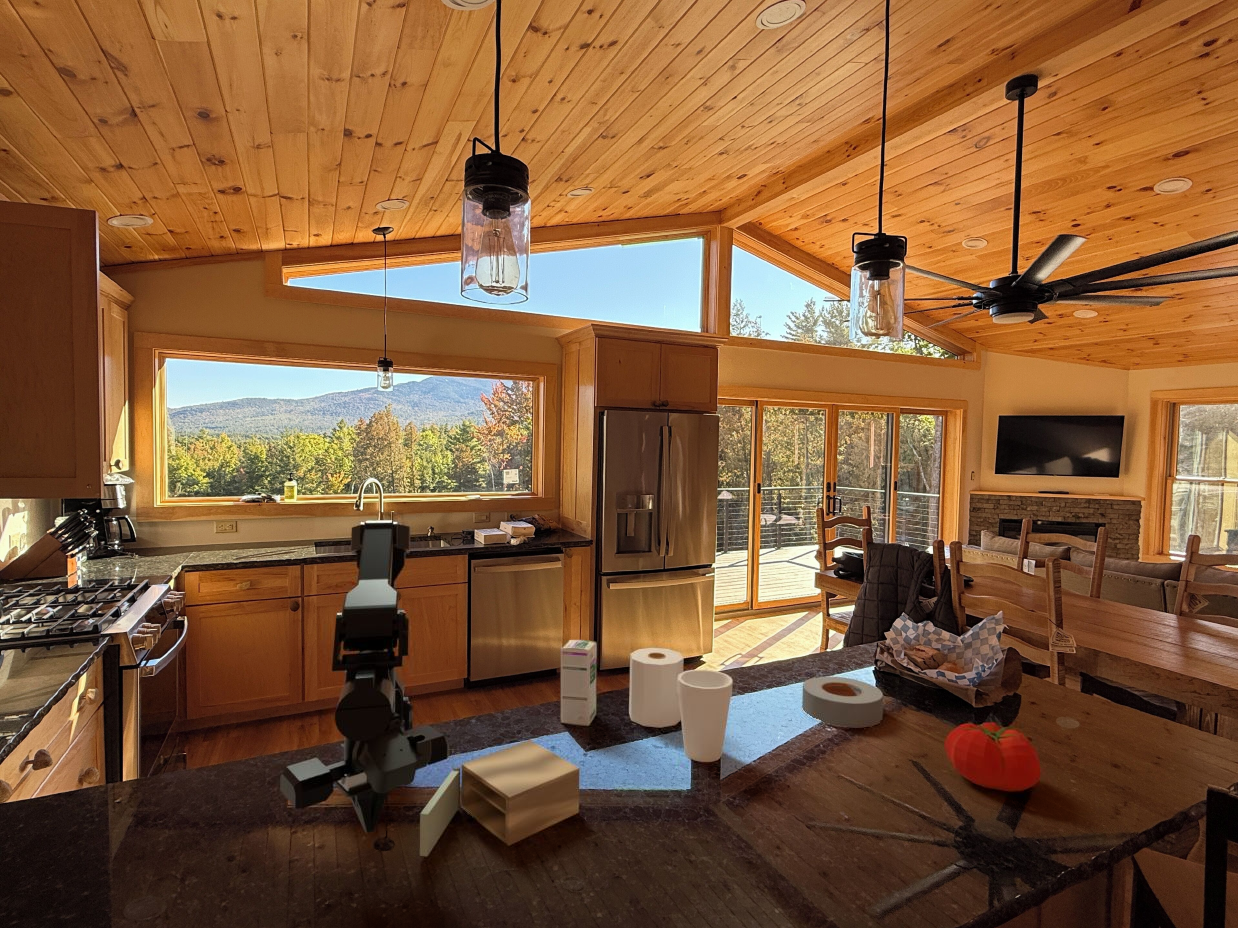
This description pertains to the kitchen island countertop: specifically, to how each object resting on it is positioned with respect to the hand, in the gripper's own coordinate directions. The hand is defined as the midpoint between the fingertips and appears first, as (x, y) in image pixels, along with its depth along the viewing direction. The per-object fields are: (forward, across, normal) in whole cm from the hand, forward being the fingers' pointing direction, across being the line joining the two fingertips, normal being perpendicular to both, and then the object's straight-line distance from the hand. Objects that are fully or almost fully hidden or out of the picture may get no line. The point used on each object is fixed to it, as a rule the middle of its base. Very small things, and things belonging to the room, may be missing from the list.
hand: (368, 831), depth 82 cm
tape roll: (+6, +91, -14) cm, 92 cm away
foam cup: (+6, +56, -7) cm, 57 cm away
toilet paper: (+6, +61, +9) cm, 62 cm away
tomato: (+6, +84, -44) cm, 95 cm away
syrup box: (+6, +49, +18) cm, 53 cm away
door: (+5, +11, +2) cm, 12 cm away
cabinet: (+5, +22, -1) cm, 23 cm away
